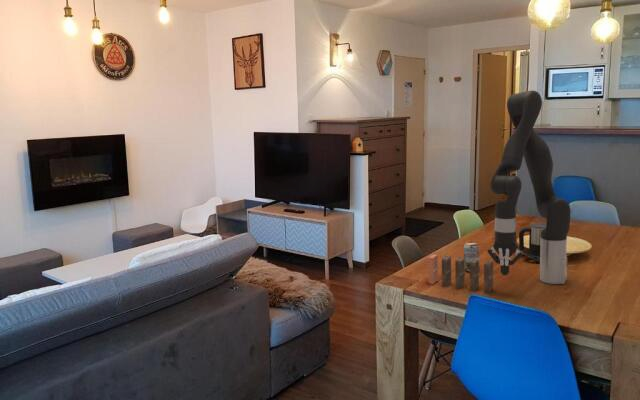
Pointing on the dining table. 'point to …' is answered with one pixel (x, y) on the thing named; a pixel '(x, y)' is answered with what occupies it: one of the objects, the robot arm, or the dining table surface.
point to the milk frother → (532, 240)
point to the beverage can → (470, 254)
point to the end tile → (433, 268)
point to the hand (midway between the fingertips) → (505, 274)
